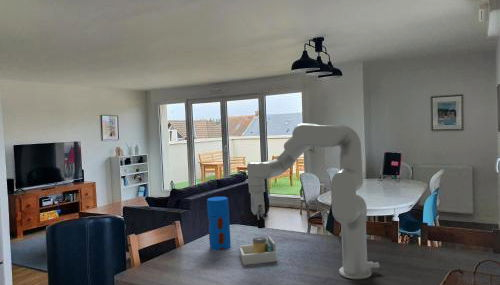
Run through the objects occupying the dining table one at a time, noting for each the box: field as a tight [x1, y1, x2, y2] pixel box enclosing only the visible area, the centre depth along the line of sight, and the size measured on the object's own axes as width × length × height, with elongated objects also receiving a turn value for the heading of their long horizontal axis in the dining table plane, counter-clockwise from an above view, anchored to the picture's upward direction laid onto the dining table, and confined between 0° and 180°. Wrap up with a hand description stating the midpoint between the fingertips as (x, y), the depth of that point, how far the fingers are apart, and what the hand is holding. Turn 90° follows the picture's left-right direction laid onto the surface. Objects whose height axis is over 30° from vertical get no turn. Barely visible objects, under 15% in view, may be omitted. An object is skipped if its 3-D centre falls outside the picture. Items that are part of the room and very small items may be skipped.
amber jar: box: [252, 236, 267, 253], centre depth 179 cm, size 6×6×8 cm
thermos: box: [206, 196, 231, 251], centre depth 198 cm, size 11×11×25 cm
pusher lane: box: [238, 235, 277, 266], centre depth 179 cm, size 15×14×8 cm
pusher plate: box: [266, 238, 271, 252], centre depth 179 cm, size 1×11×6 cm, turn 8°
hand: (259, 225), depth 178 cm, fingers open, 9 cm apart
